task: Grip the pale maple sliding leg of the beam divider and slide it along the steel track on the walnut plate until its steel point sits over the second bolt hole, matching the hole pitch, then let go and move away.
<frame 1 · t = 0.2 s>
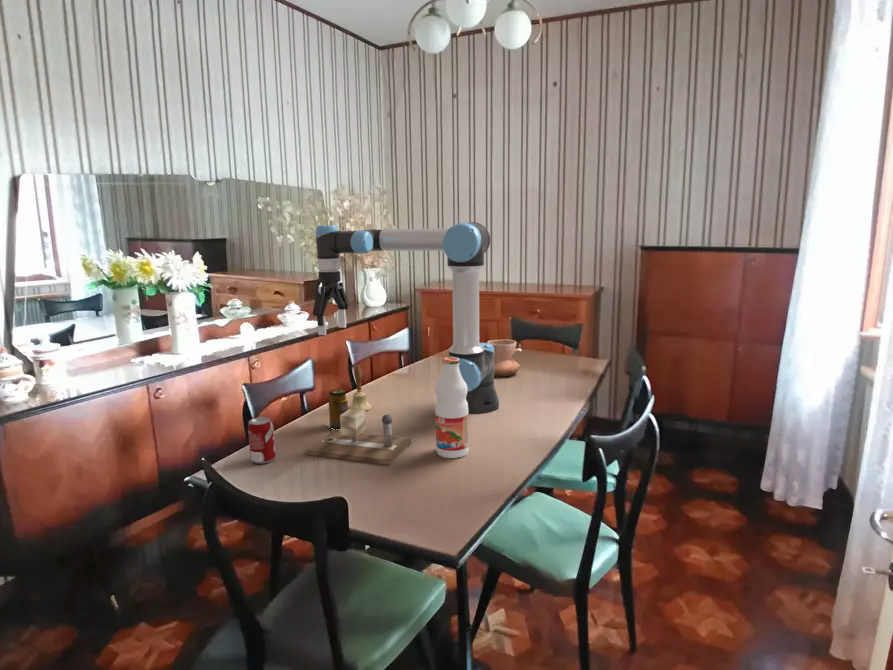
hand: (332, 331, 207), 28 cm above the table, tool pointing down, fingers open, 13 cm apart
hand bell: (360, 408, 211), on the table
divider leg: (353, 427, 173), point 7 cm above the table, slide at 11.0 cm
ceramic jug: (500, 374, 252), on the table
soda can: (263, 461, 167), on the table
fruit juice: (452, 453, 170), on the table
hole plate: (360, 449, 174), on the table
condiment: (339, 427, 193), on the table
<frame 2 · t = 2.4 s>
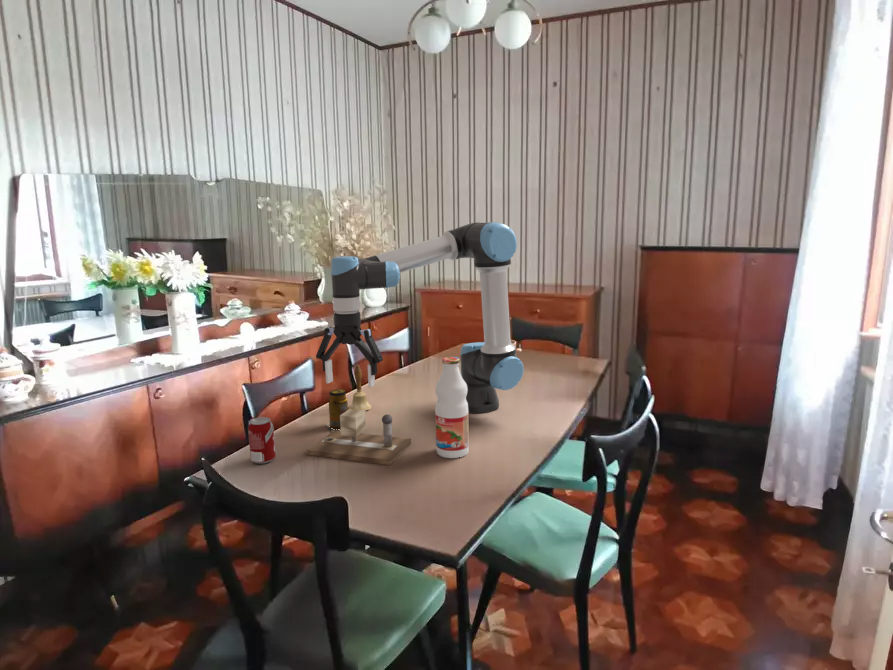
hand: (350, 384, 171), 20 cm above the table, tool pointing down, fingers open, 13 cm apart
nothing on the table moved.
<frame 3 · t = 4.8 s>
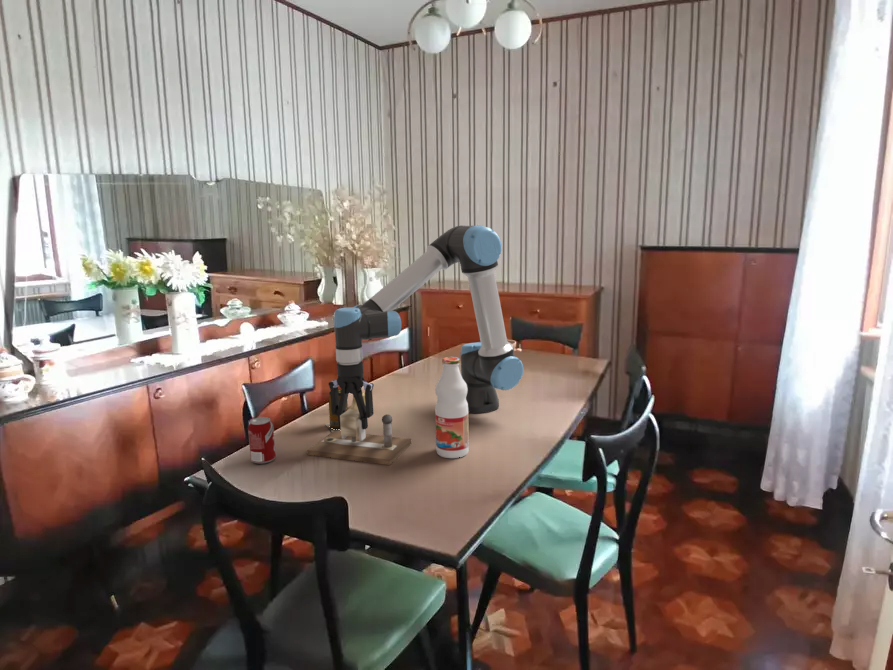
hand: (353, 437, 174), 3 cm above the table, tool pointing down, fingers closed on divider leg, 5 cm apart
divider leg: (353, 427, 173), point 7 cm above the table, slide at 11.0 cm, touching gripper
everything else where it was.
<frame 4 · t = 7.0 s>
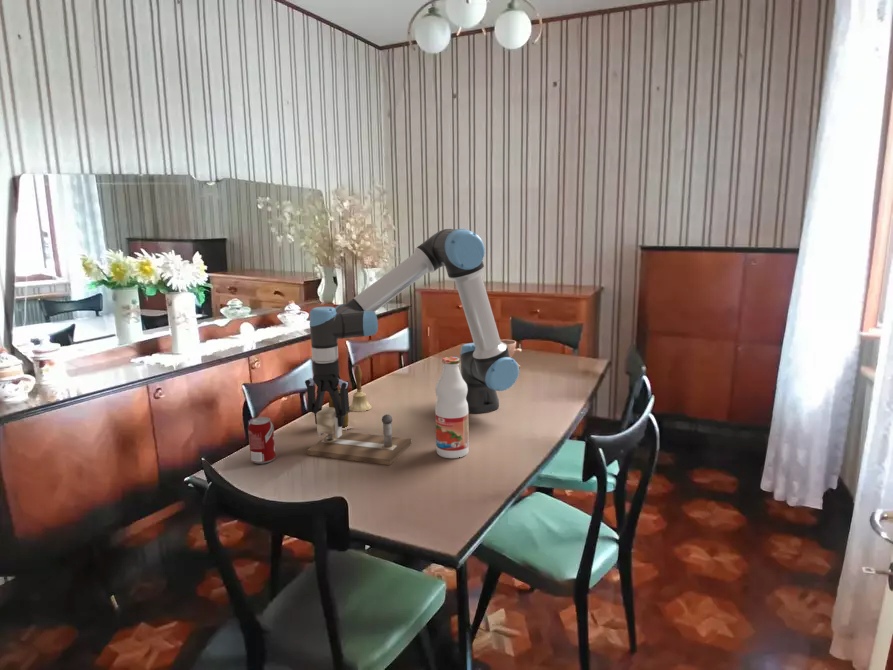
hand: (330, 435, 176), 3 cm above the table, tool pointing down, fingers closed on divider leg, 5 cm apart
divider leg: (329, 424, 176), point 7 cm above the table, slide at 18.8 cm, touching gripper
everything else where it was.
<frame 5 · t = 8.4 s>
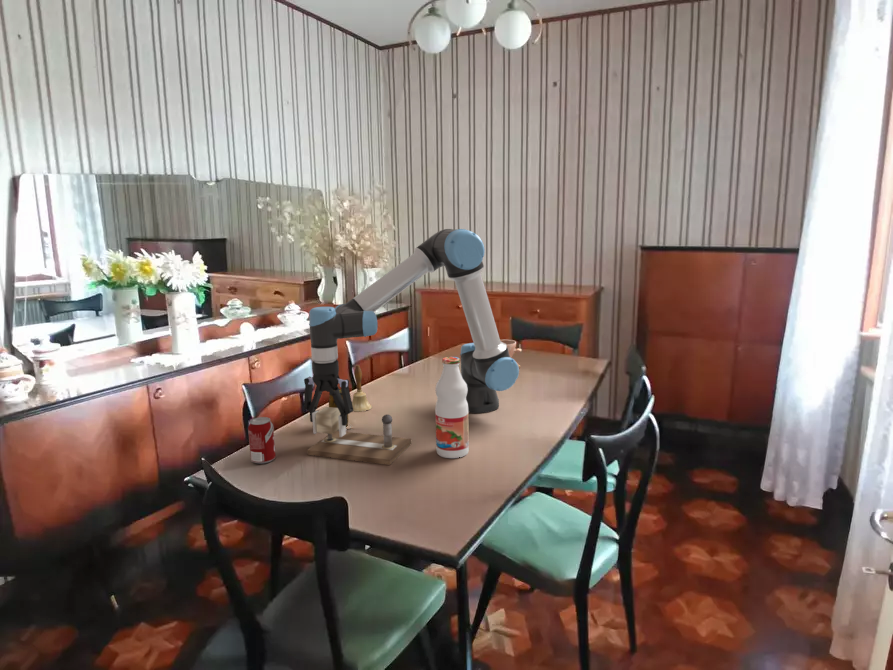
hand: (329, 433, 176), 4 cm above the table, tool pointing down, fingers open, 8 cm apart
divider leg: (329, 424, 176), point 7 cm above the table, slide at 19.0 cm
everything else where it was.
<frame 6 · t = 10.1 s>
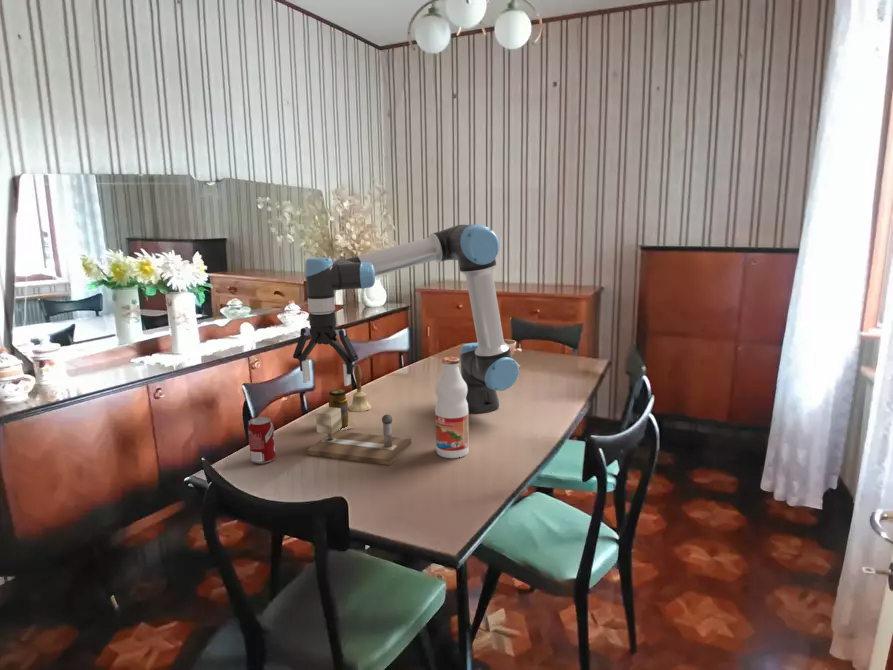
hand: (327, 383, 173), 19 cm above the table, tool pointing down, fingers open, 13 cm apart
nothing on the table moved.
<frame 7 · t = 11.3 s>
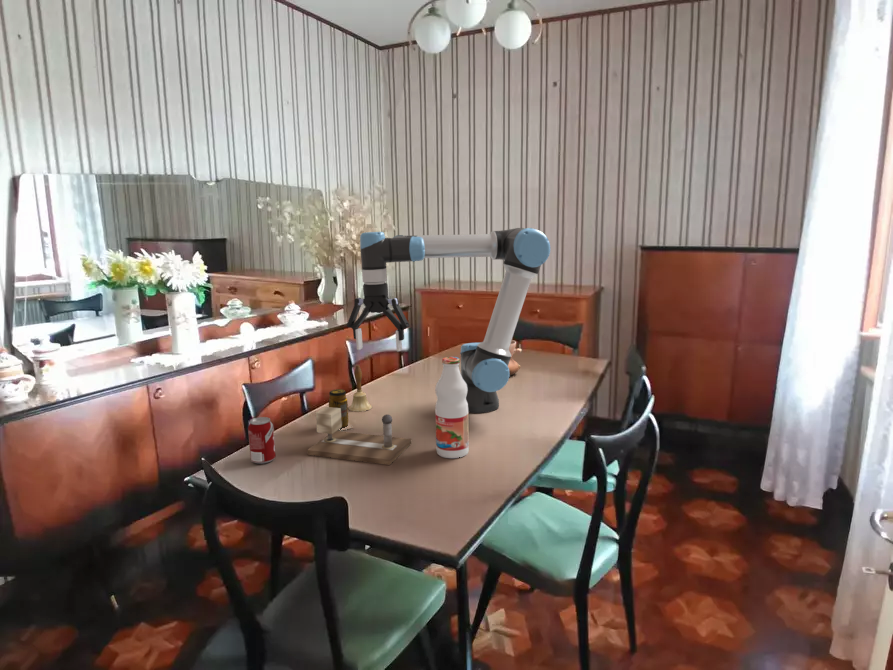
hand: (379, 349, 186), 26 cm above the table, tool pointing down, fingers open, 13 cm apart
nothing on the table moved.
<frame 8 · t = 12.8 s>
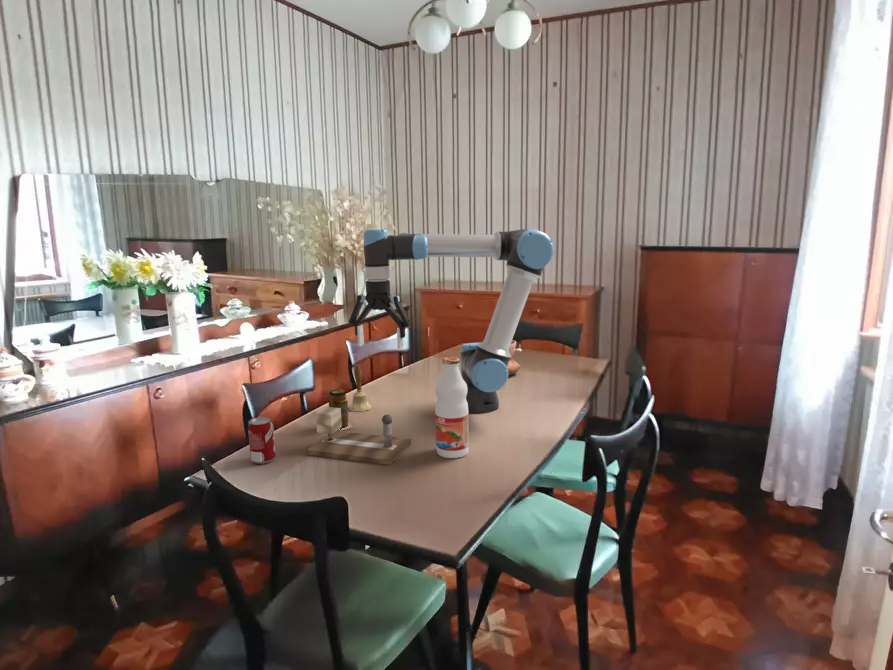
hand: (380, 346, 187), 27 cm above the table, tool pointing down, fingers open, 13 cm apart
nothing on the table moved.
at the end: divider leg slide at 19.0 cm; the gripper is holding nothing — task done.
